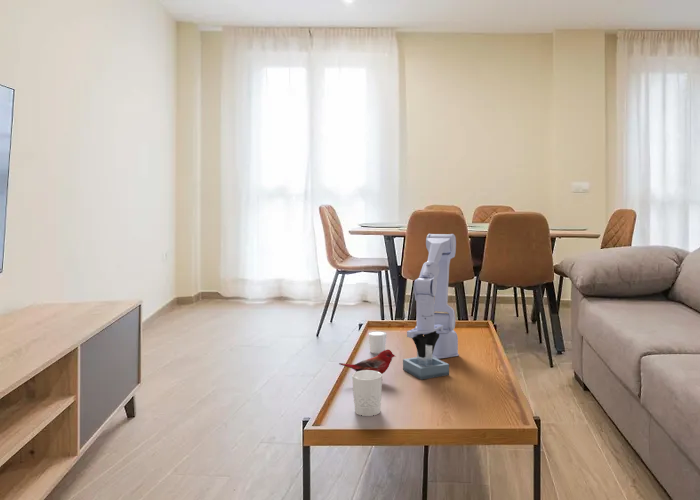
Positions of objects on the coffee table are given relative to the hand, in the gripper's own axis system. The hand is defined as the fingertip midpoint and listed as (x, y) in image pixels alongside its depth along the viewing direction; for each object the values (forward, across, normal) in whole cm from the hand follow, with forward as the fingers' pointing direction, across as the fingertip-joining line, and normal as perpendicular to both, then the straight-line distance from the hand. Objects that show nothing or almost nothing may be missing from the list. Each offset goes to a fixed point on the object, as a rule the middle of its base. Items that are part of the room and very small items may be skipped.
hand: (425, 355), depth 167 cm
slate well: (+5, 0, 0) cm, 5 cm away
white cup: (+6, +35, +14) cm, 38 cm away
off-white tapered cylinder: (+6, -4, -29) cm, 30 cm away
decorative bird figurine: (+6, +20, -5) cm, 22 cm away
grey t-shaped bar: (+4, 0, 0) cm, 4 cm away
